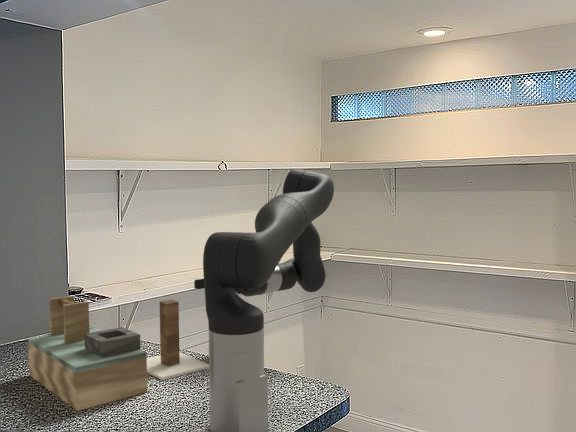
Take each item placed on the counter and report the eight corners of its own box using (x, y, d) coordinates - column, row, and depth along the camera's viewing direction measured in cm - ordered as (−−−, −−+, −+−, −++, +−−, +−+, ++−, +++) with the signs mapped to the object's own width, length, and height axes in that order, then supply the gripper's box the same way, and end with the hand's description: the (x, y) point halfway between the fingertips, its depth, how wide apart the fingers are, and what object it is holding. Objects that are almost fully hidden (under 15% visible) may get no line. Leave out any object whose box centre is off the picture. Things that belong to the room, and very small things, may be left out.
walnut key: (179, 363, 133) (178, 301, 132) (168, 366, 131) (166, 303, 130) (172, 360, 135) (171, 299, 134) (160, 363, 133) (159, 301, 132)
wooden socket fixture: (147, 392, 117) (145, 311, 116) (77, 411, 108) (74, 324, 107) (92, 361, 137) (90, 292, 136) (29, 375, 127) (26, 301, 126)
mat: (210, 367, 132) (210, 365, 132) (162, 380, 124) (162, 377, 124) (177, 353, 142) (177, 351, 142) (130, 364, 134) (130, 361, 134)
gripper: (242, 261, 154) (188, 267, 143) (278, 267, 143) (222, 274, 133) (242, 290, 154) (188, 298, 144) (278, 298, 144) (223, 307, 133)
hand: (205, 286), depth 138 cm, fingers open, 8 cm apart
